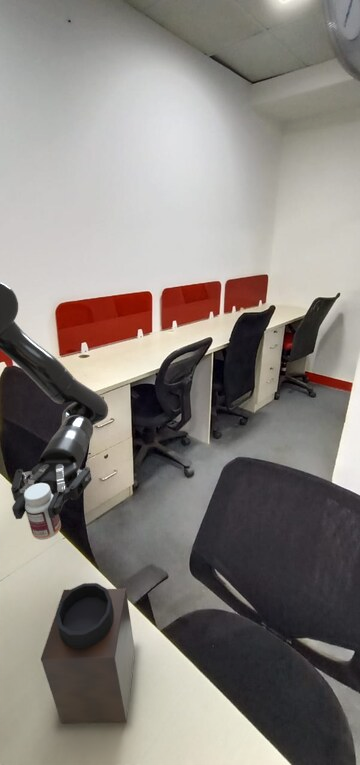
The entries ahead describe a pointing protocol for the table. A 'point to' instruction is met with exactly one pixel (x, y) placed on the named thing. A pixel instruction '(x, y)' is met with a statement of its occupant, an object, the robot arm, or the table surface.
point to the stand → (93, 670)
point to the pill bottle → (40, 511)
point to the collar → (85, 615)
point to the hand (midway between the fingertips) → (34, 514)
